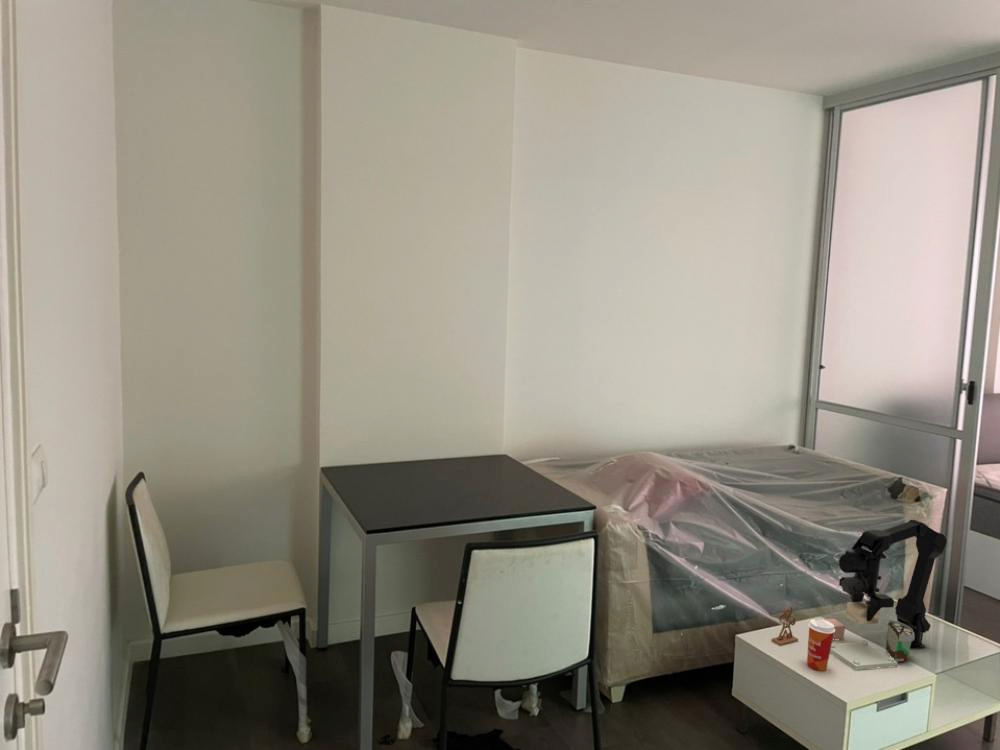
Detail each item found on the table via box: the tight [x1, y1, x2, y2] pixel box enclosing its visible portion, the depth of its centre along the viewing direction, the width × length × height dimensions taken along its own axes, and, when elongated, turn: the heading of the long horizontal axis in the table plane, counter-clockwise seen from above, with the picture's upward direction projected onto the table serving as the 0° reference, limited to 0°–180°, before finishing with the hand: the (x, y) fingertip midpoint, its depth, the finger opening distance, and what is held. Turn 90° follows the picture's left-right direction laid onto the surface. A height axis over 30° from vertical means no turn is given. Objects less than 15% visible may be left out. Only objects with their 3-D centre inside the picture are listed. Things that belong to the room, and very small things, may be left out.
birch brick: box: [845, 601, 881, 625], centre depth 250 cm, size 8×6×5 cm
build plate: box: [830, 639, 899, 671], centre depth 246 cm, size 16×14×2 cm
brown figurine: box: [770, 605, 799, 647], centre depth 254 cm, size 9×4×12 cm, turn 121°
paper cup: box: [806, 618, 835, 672], centre depth 237 cm, size 8×8×14 cm
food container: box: [885, 619, 915, 664], centre depth 248 cm, size 12×6×10 cm, turn 168°
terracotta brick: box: [822, 618, 846, 641], centre depth 260 cm, size 8×6×5 cm
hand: (862, 617), depth 251 cm, fingers closed on birch brick, 5 cm apart
